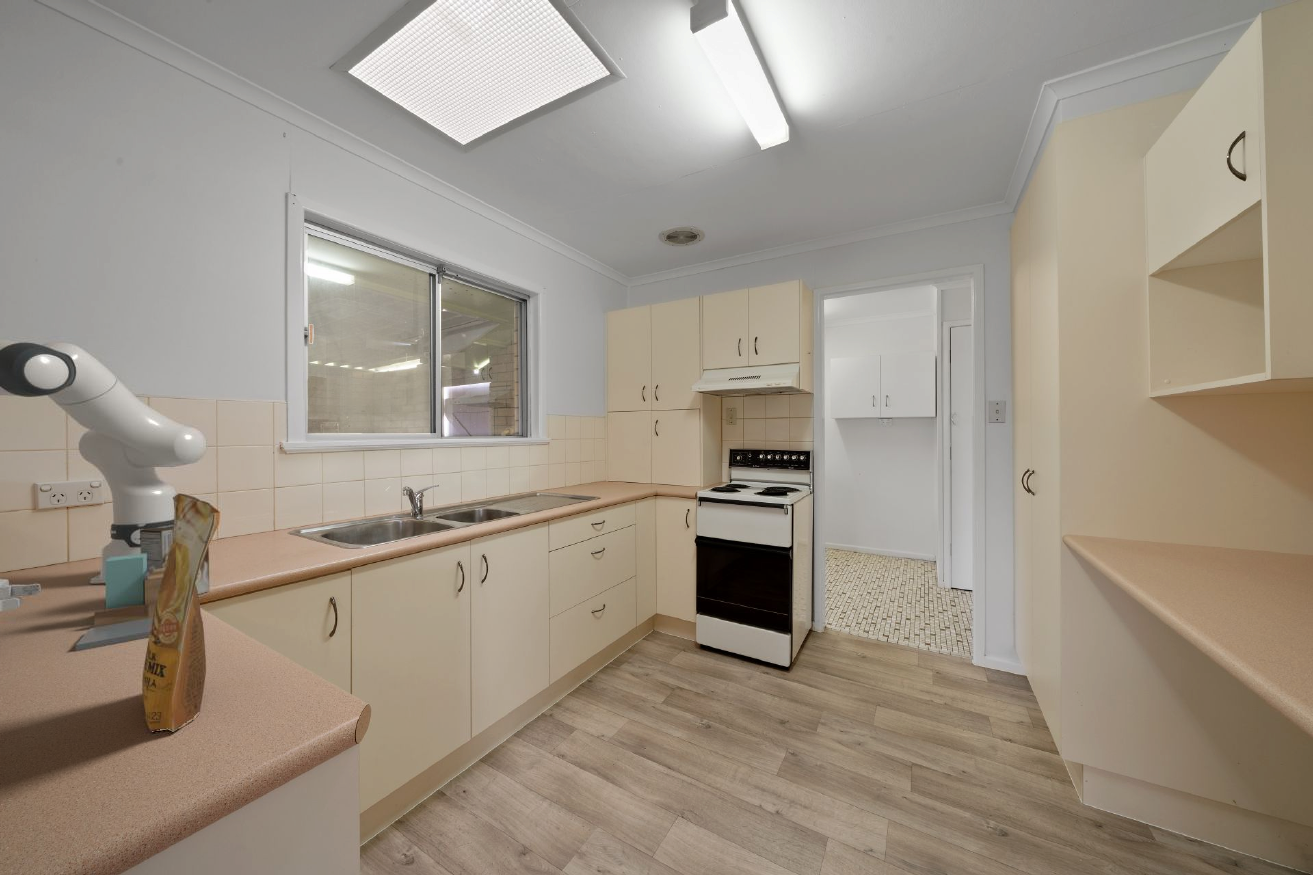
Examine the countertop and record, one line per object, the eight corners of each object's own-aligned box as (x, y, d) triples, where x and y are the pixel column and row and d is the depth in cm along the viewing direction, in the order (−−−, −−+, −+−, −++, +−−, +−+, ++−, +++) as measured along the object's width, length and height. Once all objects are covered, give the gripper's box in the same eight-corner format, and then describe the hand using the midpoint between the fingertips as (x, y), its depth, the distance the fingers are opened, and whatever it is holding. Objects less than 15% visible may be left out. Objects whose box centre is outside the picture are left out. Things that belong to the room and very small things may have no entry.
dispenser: (106, 614, 96) (106, 571, 96) (186, 601, 104) (185, 561, 104) (94, 628, 89) (94, 581, 89) (180, 613, 97) (180, 570, 97)
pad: (90, 633, 87) (90, 628, 87) (160, 621, 93) (160, 616, 93) (75, 650, 80) (75, 644, 80) (152, 636, 86) (152, 630, 86)
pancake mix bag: (205, 672, 73) (204, 490, 73) (223, 722, 60) (221, 502, 60) (140, 689, 68) (139, 494, 68) (145, 748, 55) (143, 508, 55)
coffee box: (189, 589, 112) (188, 521, 112) (210, 591, 111) (210, 522, 110) (139, 603, 103) (139, 529, 103) (162, 605, 102) (161, 530, 101)
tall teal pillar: (110, 617, 95) (110, 557, 95) (147, 611, 98) (146, 553, 98) (105, 623, 92) (105, 561, 92) (143, 616, 95) (143, 557, 95)
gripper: (-147, 612, 71) (6, 592, 79) (-73, 579, 86) (48, 566, 95) (-146, 655, 71) (7, 630, 80) (-72, 614, 86) (49, 597, 95)
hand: (30, 595), depth 87 cm, fingers open, 8 cm apart
